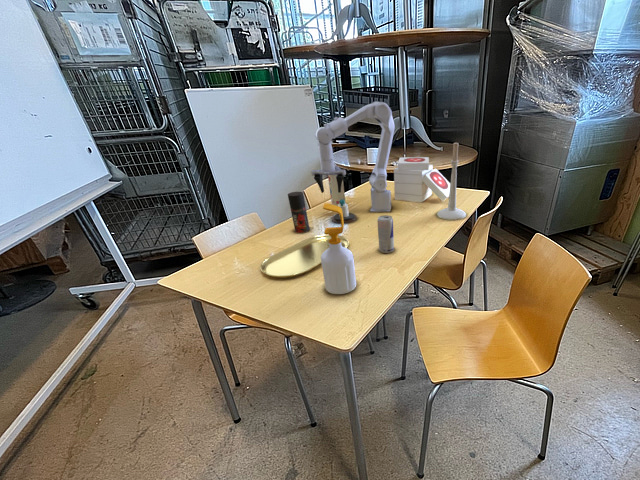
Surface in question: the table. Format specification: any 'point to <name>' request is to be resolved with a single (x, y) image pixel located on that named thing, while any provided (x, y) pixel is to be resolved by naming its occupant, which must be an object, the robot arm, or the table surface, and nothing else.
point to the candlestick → (452, 193)
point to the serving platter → (298, 257)
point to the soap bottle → (337, 259)
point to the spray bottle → (344, 211)
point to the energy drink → (385, 234)
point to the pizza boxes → (418, 180)
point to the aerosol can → (335, 189)
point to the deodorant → (298, 212)
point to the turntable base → (345, 220)
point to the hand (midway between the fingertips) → (331, 192)
